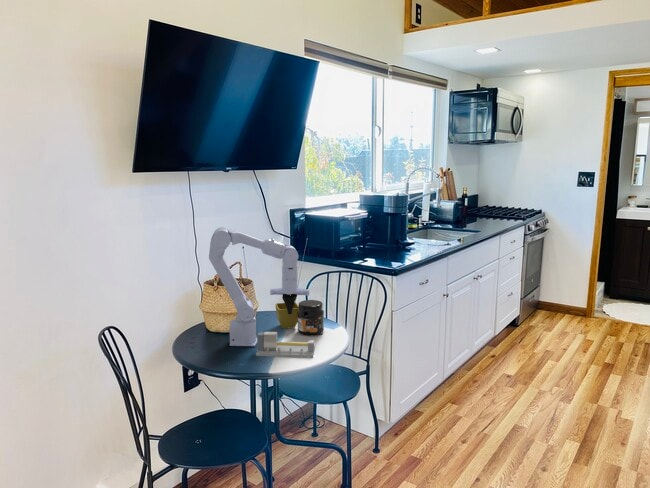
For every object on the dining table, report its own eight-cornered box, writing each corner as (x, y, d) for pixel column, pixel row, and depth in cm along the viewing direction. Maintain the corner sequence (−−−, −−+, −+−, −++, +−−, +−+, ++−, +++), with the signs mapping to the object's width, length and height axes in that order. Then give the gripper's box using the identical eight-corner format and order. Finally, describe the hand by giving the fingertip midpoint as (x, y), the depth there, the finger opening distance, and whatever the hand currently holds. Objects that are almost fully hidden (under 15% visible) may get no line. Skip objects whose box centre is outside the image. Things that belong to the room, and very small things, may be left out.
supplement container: (294, 335, 191) (294, 305, 189) (301, 326, 202) (301, 298, 200) (320, 337, 189) (320, 307, 187) (326, 328, 199) (326, 300, 197)
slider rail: (255, 356, 171) (255, 338, 170) (260, 346, 180) (260, 329, 179) (313, 357, 170) (313, 339, 169) (315, 347, 179) (315, 330, 178)
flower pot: (300, 329, 199) (300, 307, 197) (279, 331, 197) (278, 309, 195) (295, 322, 207) (295, 301, 206) (275, 324, 205) (275, 303, 203)
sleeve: (263, 349, 174) (263, 334, 173) (265, 346, 177) (265, 331, 176) (276, 350, 174) (276, 334, 173) (277, 347, 177) (277, 331, 176)
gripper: (268, 280, 179) (269, 316, 182) (308, 281, 179) (308, 317, 181) (271, 276, 186) (272, 310, 189) (309, 276, 186) (310, 311, 188)
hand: (290, 313), depth 185 cm, fingers closed
